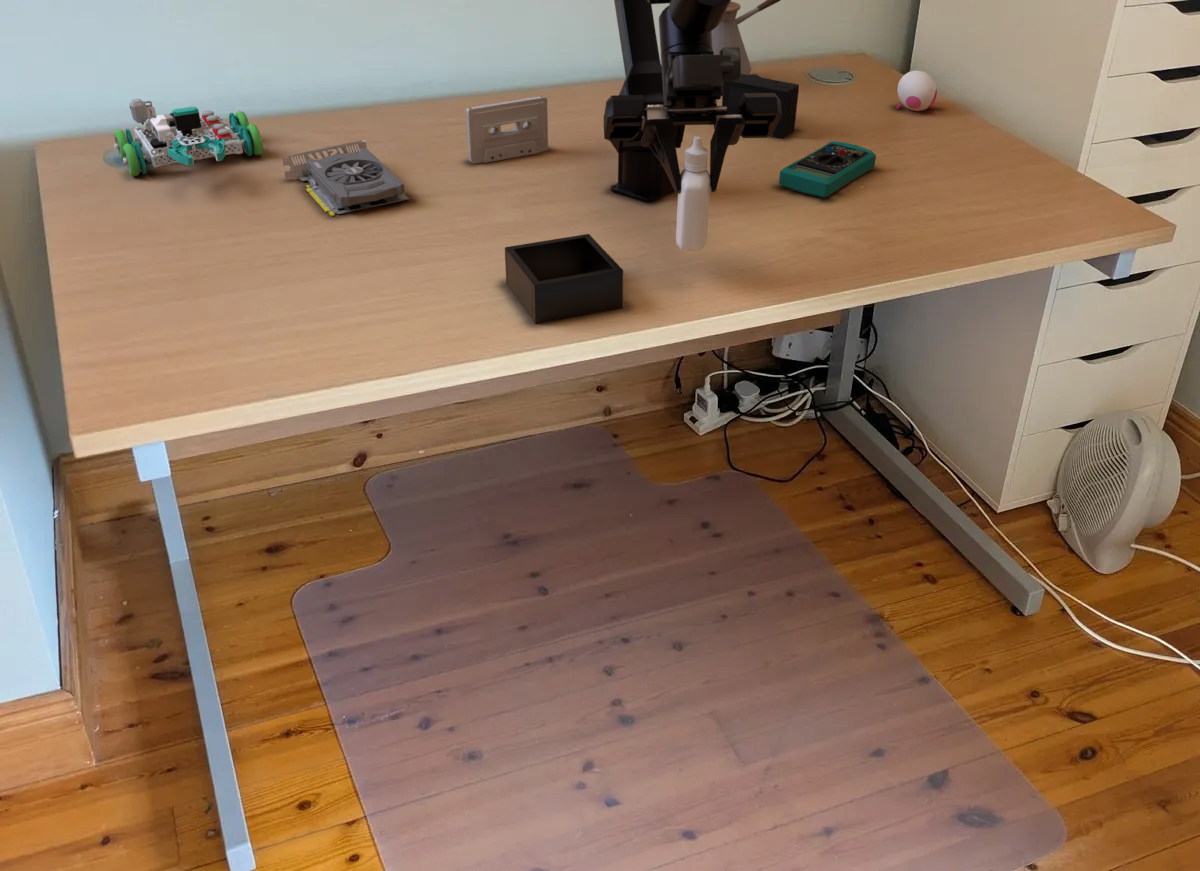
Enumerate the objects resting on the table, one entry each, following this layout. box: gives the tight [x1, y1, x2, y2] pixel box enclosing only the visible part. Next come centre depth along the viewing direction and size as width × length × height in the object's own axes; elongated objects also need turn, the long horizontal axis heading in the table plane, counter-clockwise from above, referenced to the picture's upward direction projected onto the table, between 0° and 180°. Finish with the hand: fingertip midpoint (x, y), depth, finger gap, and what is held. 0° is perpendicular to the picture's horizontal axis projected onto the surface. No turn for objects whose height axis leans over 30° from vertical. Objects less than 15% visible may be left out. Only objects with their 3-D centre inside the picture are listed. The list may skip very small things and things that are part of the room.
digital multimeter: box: [778, 140, 877, 199], centre depth 154 cm, size 7×15×3 cm, turn 142°
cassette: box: [465, 95, 549, 165], centre depth 158 cm, size 12×2×8 cm, turn 118°
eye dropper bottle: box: [675, 136, 711, 252], centre depth 123 cm, size 4×6×12 cm
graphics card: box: [281, 139, 410, 217], centre depth 148 cm, size 17×4×12 cm
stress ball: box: [896, 70, 938, 112], centre depth 178 cm, size 8×8×7 cm
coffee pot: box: [711, 0, 781, 93], centre depth 185 cm, size 21×12×15 cm, turn 115°
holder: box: [504, 233, 624, 325], centre depth 124 cm, size 10×10×4 cm
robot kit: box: [113, 98, 264, 177], centre depth 153 cm, size 19×25×9 cm
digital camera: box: [721, 73, 800, 139], centre depth 169 cm, size 10×5×7 cm, turn 58°
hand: (696, 191), depth 122 cm, fingers closed on eye dropper bottle, 3 cm apart
